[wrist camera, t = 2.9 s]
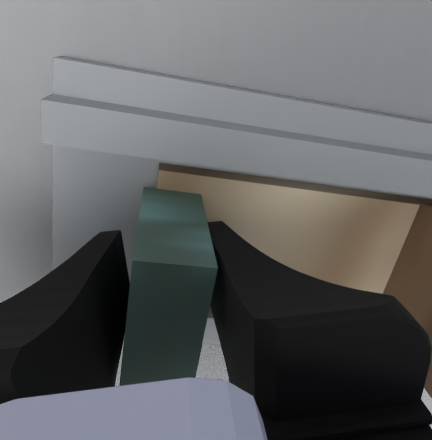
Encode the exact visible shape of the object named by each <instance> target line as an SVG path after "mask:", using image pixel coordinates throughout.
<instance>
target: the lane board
mask: <svg viewBox="0 0 432 440" xmlns="http://www.w3.org/2000/svg"><path fill="white" fill-rule="evenodd" d="M41 144H46V145H52V271H53V270H54V269H55V268H57V267H58V266H59V265H61V264H62V263H63V262H65V261H66V260H67V259H68V258H70V257H71V256H72V255H73V254H74V253H76V252H77V251H78V250H79V249H80V248H81V247H83V246H84V245H85V244H86V243H87V242H88V241H90V240H91V239H92V238H93V237H94V236H96V235H97V234H98V233H100V232H103V231H115V230H121V233H122V239H123V245H124V251H125V257H126V263H127V269H128V275H129V281H130V278H131V269H132V259H133V253H134V246H135V240H136V233H137V227H138V220H139V214H140V207H141V200H142V194H143V187H148V188H156V185H157V177H158V169H159V163H166V164H173V165H180V166H187V167H195V168H202V169H209V170H217V171H224V172H231V173H239V174H246V175H253V176H261V177H268V178H275V179H282V180H290V181H297V182H304V183H312V184H319V185H326V186H334V187H341V188H348V189H356V190H363V191H370V192H378V193H385V194H392V195H399V196H407V197H414V198H421V199H429V200H432V122H429V121H423V120H417V119H412V118H406V117H401V116H395V115H389V114H384V113H378V112H372V111H367V110H361V109H356V108H350V107H344V106H339V105H333V104H328V103H322V102H316V101H311V100H305V99H300V98H294V97H288V96H283V95H277V94H271V93H266V92H260V91H255V90H249V89H243V88H238V87H232V86H227V85H221V84H215V83H210V82H204V81H199V80H193V79H187V78H182V77H176V76H170V75H165V74H159V73H154V72H148V71H142V70H137V69H131V68H126V67H120V66H114V65H109V64H103V63H98V62H92V61H86V60H81V59H75V58H69V57H64V56H59V57H53V94H51V95H49V96H47V97H45V98H43V99H41ZM124 337H125V335H124ZM202 344H215V345H221V344H220V340H219V337H218V333H217V329H216V326H215V322H214V318H213V315H212V311H211V307H210V309H209V314H208V318H207V323H206V328H205V333H204V338H203V342H202Z"/></svg>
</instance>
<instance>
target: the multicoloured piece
mask: <svg viewBox="0 0 432 440" xmlns="http://www.w3.org/2000/svg"><path fill="white" fill-rule="evenodd" d="M421 202H423V203H430V204H432V200H429V199H421V198H414V197H407V196H399V195H392V194H385V193H378V192H370V191H363V190H356V189H348V188H341V187H334V186H326V185H319V184H312V183H304V182H297V181H290V180H282V179H275V178H268V177H261V176H253V175H246V174H239V173H231V172H224V171H217V170H209V169H202V168H195V167H187V166H180V165H173V164H166V163H159V169H158V177H157V185H156V188H148V187H143V194H142V200H141V207H140V214H139V220H138V227H137V233H136V240H135V246H134V253H133V259H132V269H131V278H130V288H129V298H128V308H127V317H126V327H125V337H124V347H123V356H122V366H121V376H120V386H123V385H131V384H139V383H147V382H155V381H163V380H171V379H179V378H187V377H190V378H195V376H196V371H197V366H198V362H199V357H200V352H201V347H202V342H203V338H204V333H205V328H206V323H207V318H208V314H209V309H210V304H211V299H212V294H213V289H214V285H215V280H216V275H217V270H218V266H217V262H216V257H215V253H214V249H213V244H212V240H211V236H210V231H209V227H208V222H214V221H223V222H224V223H225V224H226V225H228V226H229V227H230V228H231V229H232V230H233V231H234V232H236V233H237V234H238V235H239V236H240V237H242V238H243V239H244V240H245V241H247V242H248V243H249V244H251V245H252V246H254V247H255V248H256V249H258V250H259V251H261V252H263V253H264V254H266V255H267V256H269V257H271V258H272V259H274V260H276V261H278V262H280V263H282V264H284V265H286V266H288V267H290V268H292V269H294V270H296V271H299V272H301V273H304V274H307V275H309V276H312V277H315V278H317V279H320V280H323V281H327V282H330V283H333V284H337V285H341V286H345V287H349V288H353V289H358V290H363V291H369V292H375V293H381V294H383V292H384V289H385V287H386V284H387V282H388V280H389V277H390V275H391V273H392V270H393V268H394V265H395V263H396V261H397V258H398V256H399V254H400V251H401V249H402V246H403V244H404V242H405V239H406V237H407V235H408V232H409V230H410V228H411V225H412V223H413V220H414V218H415V216H416V213H417V211H418V209H419V206H420V204H421Z"/></svg>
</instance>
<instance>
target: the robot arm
mask: <svg viewBox="0 0 432 440" xmlns="http://www.w3.org/2000/svg"><path fill="white" fill-rule="evenodd" d="M208 227H209V231H210V236H211V240H212V244H213V249H214V253H215V257H216V262H217V266H218V270H217V275H216V280H215V285H214V289H213V294H212V299H211V304H210V307H211V311H212V315H213V318H214V322H215V326H216V329H217V333H218V337H219V340H220V344H221V348H222V351H223V355H224V359H225V362H226V367H227V371H228V376H229V382H228V381H226V380H220V379H205V378H190V377H187V378H179V379H171V380H163V381H155V382H147V383H139V384H131V385H123V386H115V381H116V374H117V369H118V364H119V360H120V355H121V350H122V345H123V340H124V335H125V327H126V317H127V308H128V298H129V288H130V281H129V275H128V269H127V263H126V257H125V251H124V245H123V239H122V233H121V230H115V231H103V232H100V233H98V234H97V235H96V236H94V237H93V238H92V239H91V240H90V241H88V242H87V243H86V244H85V245H84V246H83V247H81V248H80V249H79V250H78V251H77V252H76V253H74V254H73V255H72V256H71V257H70V258H68V259H67V260H66V261H65V262H63V263H62V264H61V265H59V266H58V267H57V268H55V269H54V270H53V271H51V272H50V273H49V274H47V275H46V276H45V277H43V278H42V279H40V280H39V281H38V282H36V283H34V284H33V285H31V286H30V287H28V288H26V289H25V290H23V291H22V292H20V293H18V294H17V295H15V296H13V297H11V298H9V299H7V300H5V301H3V302H2V303H0V440H432V429H431V427H430V426H429V425H430V424H432V415H431V413H430V411H429V410H428V409H427V407H426V406H425V404H424V403H423V402H422V400H421V396H422V393H423V389H424V385H425V381H426V377H427V374H428V370H429V366H430V362H431V352H432V347H431V343H430V339H429V336H428V334H427V333H426V332H425V330H424V329H423V328H422V326H421V325H420V324H419V323H418V322H417V320H416V319H415V318H414V317H413V316H412V315H411V314H410V312H409V311H408V310H407V309H406V308H405V307H404V306H403V305H402V304H401V303H400V302H399V301H398V300H397V299H396V298H395V297H394V296H392V295H386V294H381V293H375V292H369V291H363V290H358V289H353V288H349V287H345V286H341V285H337V284H333V283H330V282H327V281H323V280H320V279H317V278H315V277H312V276H309V275H307V274H304V273H301V272H299V271H296V270H294V269H292V268H290V267H288V266H286V265H284V264H282V263H280V262H278V261H276V260H274V259H272V258H271V257H269V256H267V255H266V254H264V253H263V252H261V251H259V250H258V249H256V248H255V247H254V246H252V245H251V244H249V243H248V242H247V241H245V240H244V239H243V238H242V237H240V236H239V235H238V234H237V233H236V232H234V231H233V230H232V229H231V228H230V227H229V226H228V225H226V224H225V223H224V222H223V221H214V222H208Z"/></svg>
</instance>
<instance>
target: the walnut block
mask: <svg viewBox="0 0 432 440" xmlns="http://www.w3.org/2000/svg"><path fill="white" fill-rule="evenodd" d="M383 294H386V295H392V296H394V297H395V298H396V299H397V300H398V301H399V302H400V303H401V304H402V305H403V306H404V307H405V308H406V309H407V310H408V311H409V312H410V314H411V315H412V316H413V317H414V318H415V319H416V320H417V322H418V323H419V324H420V325H421V326H422V328H423V329H424V330H425V332H426V333H427V334H428V336H429V339H430V343H431V347H432V204H430V203H423V202H421V204H420V206H419V209H418V211H417V213H416V216H415V218H414V220H413V223H412V225H411V228H410V230H409V232H408V235H407V237H406V239H405V242H404V244H403V246H402V249H401V251H400V254H399V256H398V258H397V261H396V263H395V265H394V268H393V270H392V273H391V275H390V277H389V280H388V282H387V284H386V287H385V289H384V292H383ZM424 388H425V390H426V391H427V392H428V394H429V395H430V396H431V398H432V352H431V362H430V366H429V370H428V374H427V377H426V381H425V385H424Z"/></svg>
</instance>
